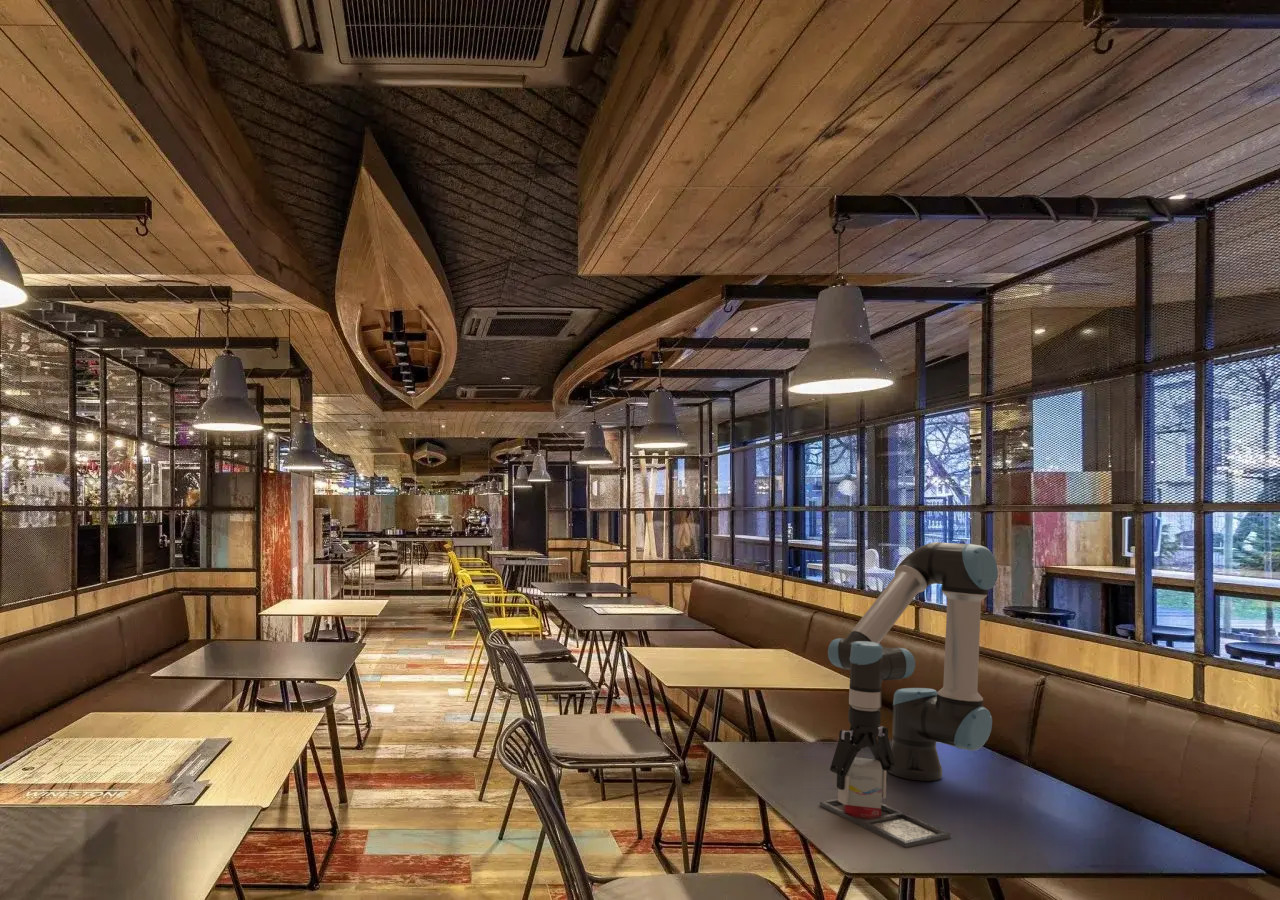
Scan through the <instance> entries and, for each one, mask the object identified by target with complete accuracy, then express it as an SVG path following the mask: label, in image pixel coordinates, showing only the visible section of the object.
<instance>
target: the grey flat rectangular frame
mask: <svg viewBox="0 0 1280 900" xmlns="http://www.w3.org/2000/svg"><path fill="white" fill-rule="evenodd" d="M838 805H843V803H840V802H838V798H834V799H827V800H821V801H819V807H821V808H823V809H826V810H828V811H829V812H831V813H833V814H836V815H837V816H840V817H842V818H844V819H846V820H848V821H850V822H853V823H854V824H856V825H858V826H860V827H863V829H866V830H868V831H871V832H872V833H874V834H877V835H879V836H880V837H883V838H884V839H887V840H889V841H891V842H894V843H895V844H898V845H899V846H901V847H903V848H906V849H907V848H911V847H915V846H921V845H925V844H930V843H935V842H937V841H938V842H939V841H943V840H947V839H951V833H950V832H948V831H946V830H944V829H941V828H939V827H937V826H935V825H932V824H930V823H927V822H925V821H924V820H921V819H919V818H917V817H914V816H913V815H910V814H907V813H905V812H903V811H900V810H898V809H896V808H894V807H891V806H889V805H887V804H885V803H883V802H881V811H882V810H883V811H885V812H887V813H889V814H884V815H881V816H878V817H873V818H863V819H862V818H860V817H855V816H853V815H851V814H849V813H847V812H845V811H844V809H843V810H842V809H840V808H839V807H837V806H838Z"/></svg>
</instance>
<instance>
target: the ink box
mask: <svg viewBox="0 0 1280 900" xmlns="http://www.w3.org/2000/svg"><path fill="white" fill-rule="evenodd" d="M846 775H847V776H849V798H848V805H845V804H842V807H843V811H845V812H847V813H849V814H851V815H853V816H855V817H857V818H860V819H862V818H863V819H868V818H873V817H878V816H882V809H881V803H882V799H883V798H882V767H881V763H880V761H879V760H875V758H874V759H871V758H865V757H858V756H856V757H855V759H854V761H853V763H852V765H851V767H850V769H849V771H848V773H847V774H846Z"/></svg>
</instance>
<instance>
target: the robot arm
mask: <svg viewBox="0 0 1280 900" xmlns="http://www.w3.org/2000/svg"><path fill="white" fill-rule="evenodd" d="M998 570H999V569H998V564H997V560H996V558H995V556H994V555H993V553H992V552H991V550H990V549H989V548H987V546H983V545H980V544H973V543H954V542H953V543H952V542H940V541H936V542H929V543H927V544H924V545H922V546H920V547H918V548H917V549H915V550H913V551H912V552H910V553H909V554H908V555H907V556H906V557H905V558H904V559H902V560H901V562H900V563H898V566H896V568H895V569H894V576H893V577H892V579H891V580H890V582H888V584H887V585H886V587H885V588H884V589H883V590H882V592H881V593H880V595H878V596H877V598H876V599H875V601H874V602H873V603H872V604H871V606H870V607H869V608H868V610H867V611H866V612H865V613H864V614H863V616H862V617H861V618H860V619H859V621H858V622H857V624H856V625H855V626H854V627H853V629H852V630H851V631H850V633H849V634H848V635H847V636H846V638H843V637H841V638H835V639H833V640H831V642H830V643H829V646H828V647H827V648H828V650H827V657H828V660H829V662H830V663H831V664H832V665H833V666H835V667H837V668H840V669H843V670H846V671H847V670H849V689H848V690H849V691H848V693H849V694H848V704H849V705H850V706H849V707H848V713H847V714H848V718H847V719H848V722H849V725H850V727H849V730H844V729H840V730H839V733H838V742H837V745H836V748H835V752H834V755H833V758H832V761H831V764H830V768H829V770H830V772H832V773H834V774H836V788H837V789H838V790H837V799H838V802H840V803H843V804H845V805H848V798H849V776H847V775H846V774H847V773H848V771H849V769H850V767H851V765H852V763H853V761H854V759H855V757H857V755H858V753H859V752H860V751H861V750H862V749H864V748H869V750H870V752H871V754H872V755H873V758H874V760H879V761H880V763H881V767H882V798H881V799H882V800H883V799H886V798H887V783H888V775H889V774H890V775H893V776H895V777H899V778H902V779H907V780H913V781H921V782H931V781H932V782H933V781H938V780H940V779H942V777H943V766H942V765H941V761H940V759H939V754H938V751H937V742H938V743H941V744H946V745H948V746H951V747H954V748H957V749H959V750H962V749H963V750H967V751H972V752H973V751H977V750H979V749H981V748H982V747H983V746H984V745H985V743H987V741H988V740H989V737H990V735H991V732H992V728H993V727H992V726H993V717H992V715H991V712H990V711H989V709H987V708H986V707H984V698H983V696H982V695H981V694H980V693H979V691H978V688H979V686H978V685H979V683H978V682H979V661H980V657H979V656H980V638H981V637H980V636H981V633H980V632H981V615H982V614H981V610H982V609H981V607H982V602H983V600H984V599H985V598H987V596H988V591H989V590H991V589H993V588H994V587H995V586H996V582H997V581H998V574H999V571H998ZM935 584H938V585H941V592H942V594H944V596H945V597H946V621H945V623H946V624H945V637H944V638H945V643H944V662H943V663H944V665H943V667H944V668H943V686H942V688H940V689H939V690H938V691H937V690H936V689H934V688H928V687H927V688H926V687H906V688H900V689H897V690H896V691H895V692H894V694H893V701H892V702H893V703H892V711H893V712H892V740H891V741H892V742H891V744H890V739H889V728H888V727H886V726H883V725H881V720H882V719H881V718H882V717H881V715H882V713H881V710H880V708H882V682H884V681H891V680H892V681H893V680H898V681H899V680H902V679H906V678H909V677H910V676H912V675H913V674H914V671H915V669H916V660H915V657H914V655H913V654H912V652H911V651H910V650H908V649H907V648H904V647H887V646H882V644H880V643H881V642H882V641H883V639H884V638H885V637H886V635H887V634H888V633H889V631H890V630H891V629H892V627H894V625H895V623H896V622H897V620H898V619H900V617H901V616H902V614H904V612H905V610H906V609H907V608H908V606H909V605H910V604H911V603H912V602H913V600H914V599H915V598H916V596H917V595H918V594H919V593H923V592H925V591H926V589H928V587H929V586H931V585H935ZM888 773H889V774H888ZM843 804H842V805H843Z"/></svg>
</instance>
